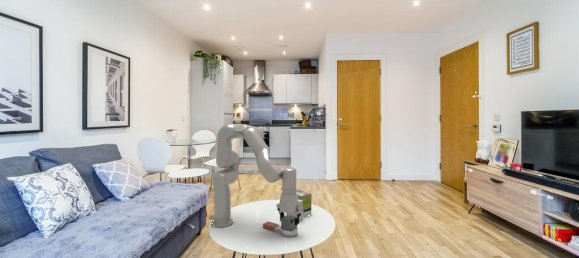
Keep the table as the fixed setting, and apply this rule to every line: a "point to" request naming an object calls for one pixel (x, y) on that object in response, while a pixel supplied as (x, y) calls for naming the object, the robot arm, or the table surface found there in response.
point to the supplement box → (298, 211)
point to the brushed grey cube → (288, 223)
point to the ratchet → (278, 229)
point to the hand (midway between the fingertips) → (289, 222)
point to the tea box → (305, 201)
